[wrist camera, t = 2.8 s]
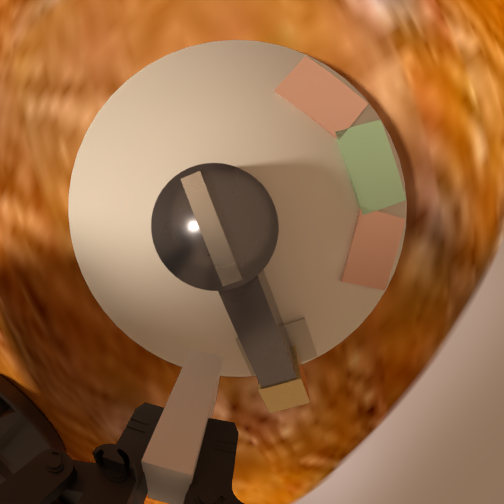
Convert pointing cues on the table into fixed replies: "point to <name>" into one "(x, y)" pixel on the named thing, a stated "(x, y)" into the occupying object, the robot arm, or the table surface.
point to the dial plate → (259, 166)
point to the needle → (232, 265)
